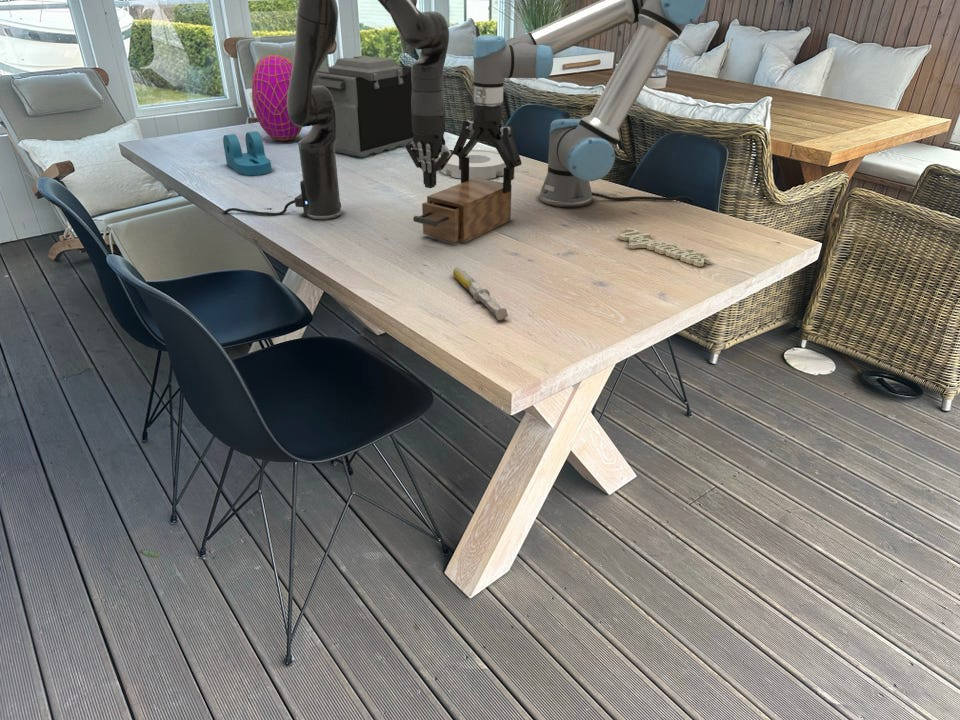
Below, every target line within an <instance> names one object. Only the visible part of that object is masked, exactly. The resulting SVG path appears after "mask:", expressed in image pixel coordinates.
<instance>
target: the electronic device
mask: <svg viewBox="0 0 960 720" xmlns="http://www.w3.org/2000/svg"><path fill="white" fill-rule="evenodd" d="M411 68H412V66H408V65H400V64H396V62H395V60H394V59H393V58H385V57H377V56H367V55H356V56H353V57H350V58H349V57H343V58H342V57H341V58H337V59H336V60H335V63H334V64H333V65H330V66H329V67H328V72H327V71H320V70H318V71H317V73H316V76H315V78H314V82H313V86H324V87H326V88H327V89H328V90H329V91H330V93H331V95H332V97H333V101H334V106H335V120H336V142H335V153H340V154H344V155H348V156H353V157H357V158H362V159H363V158H366V157H367V158H368V157H369V155H371V154H375V155H377V154H381V153H382V152H383V151H391V150H395V149H396V148H397V147H405V146H406V145H407V144H410V143H411V142H412V141H413V136H414V133H413V131H412V113H411V96H412V83H411Z"/></svg>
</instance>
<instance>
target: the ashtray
mask: <svg viewBox="0 0 960 720" xmlns="http://www.w3.org/2000/svg"><path fill="white" fill-rule="evenodd" d="M466 157H468V158H469V180H471V179H473V178H476V177H478V178H482V179H487V180H492V179H496V178H497V177H503V175H504V168H505V167H506V165H505V163H504V161H503V160H502V158H501V156H500V154H499V153H498V151H497V150H490V149H479V148H478V149H477V148H473V149H472V150H471V151H470V152H469V154H468V156H466ZM440 172H441V173H442V174H443V175H445V176H451V177H452V178H455V179H461V170H459V158H458V156H457V155H454V154H453V155H452V157H451V158H450V160H449V161H448V162H447V164H446V165H445V167H444V168H443V169H442V170H440Z"/></svg>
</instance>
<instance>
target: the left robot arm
mask: <svg viewBox="0 0 960 720" xmlns="http://www.w3.org/2000/svg"><path fill="white" fill-rule="evenodd" d="M377 2H379V4H380V5H381V6H382V7H383V8H384V9H385V11H386V12H387V13H388V14H389V15H390V17H391V20H392V22H393V23H394V26H395V27H396V29H397V31H398V33H399V34H400V37H401V38H402V40H403V42H405V43H406V44H407V45H408V46H409V47H411V48H412V49H414V50H419V51H420V55H419V58H418V59H417V60H415V61H414V62H413V63H412V65H411V67H412V68H411V83H412V96H411V113H412V131H413V133H414V136H413V141H412V142H411V143H408V144H407V145H406V146H404V147H405V149H406V151H407V153H408V155H409V156H410V158H411V160H412V162H413V164H414V165H415V167H416V168H417V169H418V168H419V169H420V170H421V172H422V178H423V180H422V181H423V185H424V187H425V188H427V189H433V188H435V187H436V186H437V172H438V171H441V170H442V169H443V168H444V167H445V165H446V164H447V162H448V161H449V160H450V158H451V157H452V155H453V149H449V148H448V146H447V145H446V140H445V138H444V135H445V131H446V102H445V94H444V93H445V92H444V66H445V62H446V57H447V53H448V48H449V41H450V30H449V25H448V21H447V19H446V17H445V16H444V15H443V14H442V13H441V12H439V11H433V10H431V11H420V10H419V9H418V8H417V7H416V6H417V4H418V0H377ZM338 22H339V7H338V4H337V0H298V2H297V11H296V22H295V23H296V24H295V41H294V52H293V59H292V63H293V67H292V72H291V78H290V83H289V89H288V95H287V111H288V115H289V118H290V120H291V122H292V123H293V124H294V125H296V126H298V127H302V128H306V127H311V129H310V130H309V132H308V133H307V134H306V135H305V136H303V137H302V138H301V139H300V140H299V141H298V152H299V159H300V167H301V175H302V180H301V181H300V183H299V186H300V194H299V195H297V196H295V197H294V200H291V201H288V202H287V203H285V204H284V208H283V210H282V211H279V212H270V211H269V212H267V211H257V210H247V209H242V208H237V207H230V208H227V209H226V210H224V211H222V215H226V214H228V213H229V212H233V211H234V212H240V213H245V214H253V215H260V216H282V215H284V214H285V213H286V212H287V210H288V208H289V206H291V205H292V204H294V205H295V207H296V208H302V209H303V216H304V217H307V218H309V219H313V220H330V219H336V218H338V217H340V216H341V215H342V209H341V208H342V202H341V197H340V189H339V178H338V166H337V158H336V152H335V142H336V120H335V106H334V101H333V97H332V95H331V93H330V91H329V90H328V89H327V88H326V87H324V86H313V82H314V78H315V76H316V73H317V71H319V69H320V68H321V66H322V65H323V63H324V61H325V60H326V59H327V57H328V55H329V54H330V52H331V50H332V48H333V46H334V45H335V41H336V38H337V37H336V36H337V32H338V31H337V29H338Z"/></svg>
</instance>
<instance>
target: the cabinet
mask: <svg viewBox="0 0 960 720" xmlns="http://www.w3.org/2000/svg"><path fill="white" fill-rule="evenodd" d="M512 187H513V186H512V184H511V188H512ZM426 202H427V203H431V204H432V202H438V203H442V204H446V205H450V206H455V207H459V208H461V236H460V237H458V241H457V242H456V243H460V244H465V243H467V242H470V241H472V240H474V239H475V238H478V237H480V236H482V235H484V234H486V233H488V232H490V231H492V230H495V229H496V228H498V227H500V226H502V225H504V224H507V223H509V222H511V215H512V214H511V213H512V190H511V191H510V192H508V193H503V181H502V182H501V181H497V180H493V179H482V178H478V177H476V178H473V179H469V180H468V181H466V182H463V183H461V182H460V183H458V184H456V185H455V184H454V185H453V186H450V187H448V188H445V189H442V190H439V191H438V192H435V193H432V194H430V195H427V196H426Z"/></svg>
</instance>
